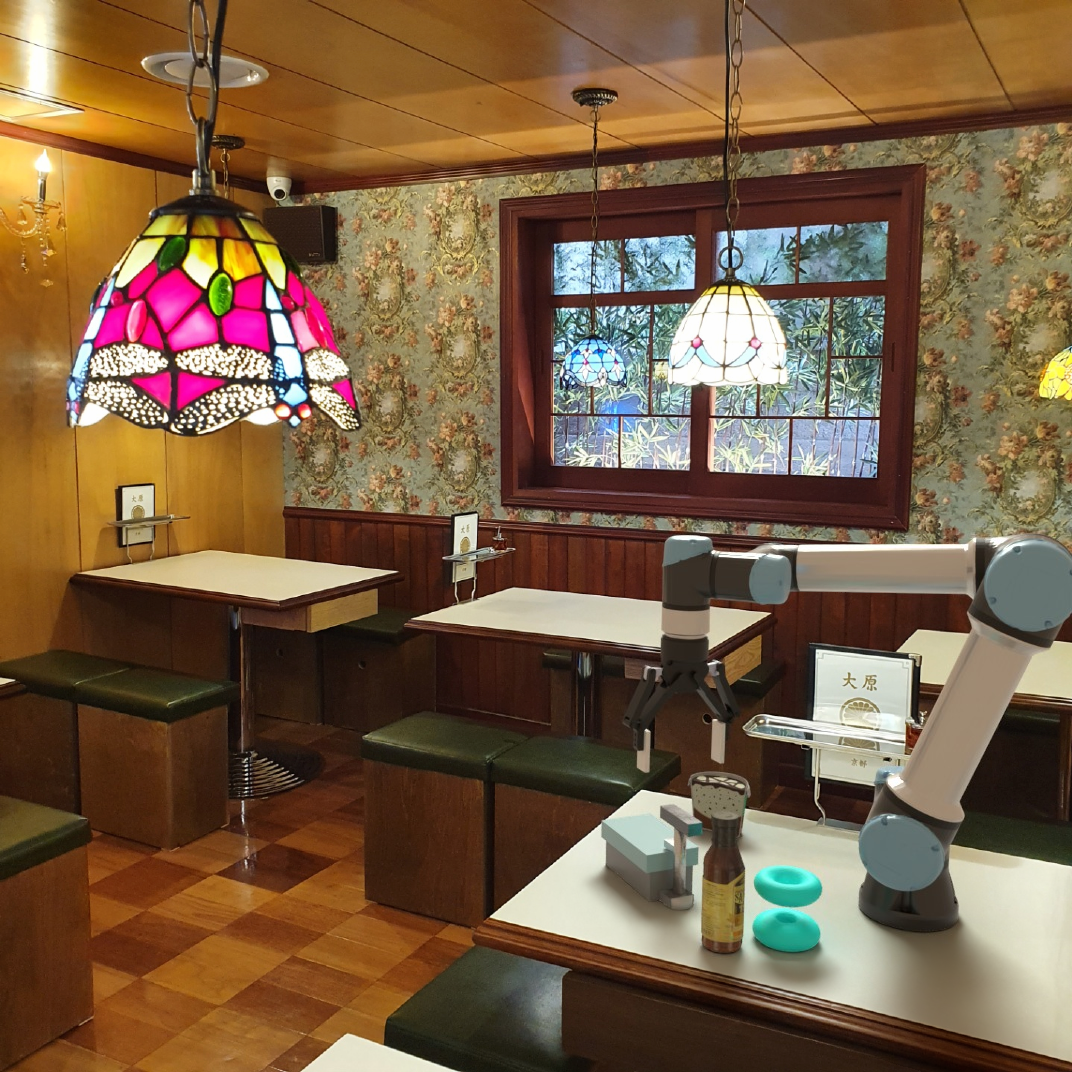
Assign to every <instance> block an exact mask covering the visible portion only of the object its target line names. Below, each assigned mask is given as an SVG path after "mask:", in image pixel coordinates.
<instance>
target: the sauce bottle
mask: <svg viewBox="0 0 1072 1072" xmlns="http://www.w3.org/2000/svg"><path fill="white" fill-rule="evenodd" d="M711 824H712V831H711V841H710V842H711V845H710V846H709V848H708V849H707V851H706V852H705V855H704V856H703V863H702V865H703V870H702V878H701V879H702V880H701V882H702V884H701V885H702V886H701V919H700V923H701V924H700V925H701V927H700V932H701V943H702V945H703V947H705V948H706V949H708V950H710V951H712V952H714V953H721V954H729V953H734V952H737V951H739V950H740V949H741V948H742V946H743V938H744V930H745V929H744V927H745V921H744V920H745V898H746V897H745V894H746V893H745V891H746V866H745V864H744V861H743V860H744V859H743V858H742V855H741V850H740V848H739V845H738V842H739V840H738V837H737V833H738V831H737V828H738V825H739V816H738V815H737V814H736V813H733V812H729V811H717V812H713V813H712V815H711Z"/></svg>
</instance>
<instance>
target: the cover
mask: <svg viewBox="0 0 1072 1072" xmlns="http://www.w3.org/2000/svg"><path fill="white" fill-rule="evenodd" d="M600 829H601V832H600V837H601V838H602V839H603V840H604V841H605V842H606V841H607V842H608V843H609V844H611V845H612V846H613V847H614V848H616V849H617V850H618V851H619V852H621V853H622V854H623V855H624V856H626V857H627V858H628V859H629V860H631V861H632V862H633V863H634V864H636V865H637V866H638V867H639V868H641V869H642V870H643V871H644V872H645V873H651V872H657V871H663V870H669V869H673V857H674V854H673V853H672V852H671V851H669V850H668V849H667V848H665V847H664V839H670V838H673V839H674V828H672V827H670V826H669V825H667V824H666V823H664V822H663V821H661V820H660V819H659V818H658V817H656V816H654V815H653V814H652V813H645V814H637V815H630V816H629V815H628V816H622V817H616V818H610V819H609V818H608V819H602V820H601V828H600ZM687 866H693V867H694V866H699V846H698V845H696V844H695V843H693V842H692V841H691V840H689V839H688V838H687V840H686V867H687Z"/></svg>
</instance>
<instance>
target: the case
mask: <svg viewBox="0 0 1072 1072" xmlns="http://www.w3.org/2000/svg"><path fill="white" fill-rule="evenodd" d="M605 866H607V867H608V868H609V869H610V870H611V871H613V872H614V873H615V874H616V875H617V874H618V875H617V876H618V877H619V878H620V879H623V881H624V882H626V883H627V884H628V885H629V886H630V887H632V888H633V890H635V891H637V892H638V893H639V894H640V895H641V896H642V897H643V898H645V900H646V901H648V902H655V901H660V902H661V903H662V904H663V905H665V907H668V909H672V910H675V911H683V910H685V911H686V910H689V909H690V908H692V907H693V905H694V904H695V902H694V901H695V898H694V897H695V894H693V877H694V876H693V874H694V873H693V872H694V865H693V866H687V867H686V879H685V894H682V895H678V894H674V893H673V869H669V870H663V871H657V872H651V873H645V872H644V871H643V870H642V869H641V868H639V867H638V866H637V865H636V864H634V863H633V862H632V861H631V860H629V859H628V858H627V857H626V856H624V855H623V854H622V853H621V852H619V851H618V850H617V849H616V848H614V847H613V846H612V845H611V844H609V843H608V842H607V841H606V840H605Z"/></svg>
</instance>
